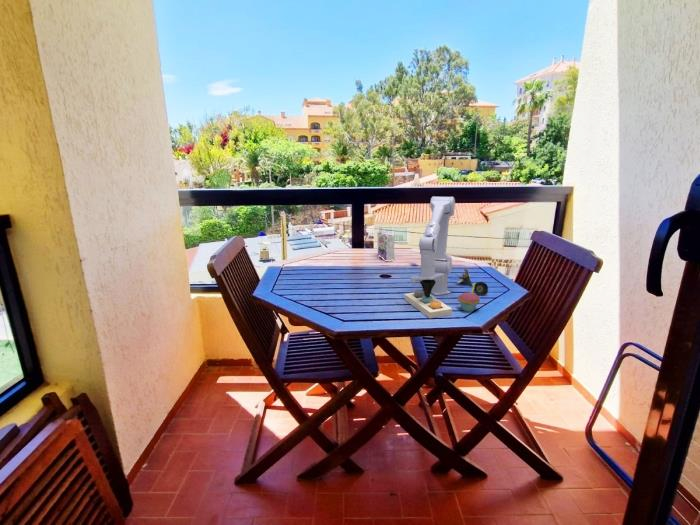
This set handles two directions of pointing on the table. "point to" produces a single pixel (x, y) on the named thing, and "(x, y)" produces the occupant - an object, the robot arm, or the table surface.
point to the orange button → (435, 305)
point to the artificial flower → (479, 287)
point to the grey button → (418, 294)
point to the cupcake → (469, 300)
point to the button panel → (428, 306)
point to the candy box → (386, 245)
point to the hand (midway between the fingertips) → (427, 296)
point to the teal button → (426, 299)
